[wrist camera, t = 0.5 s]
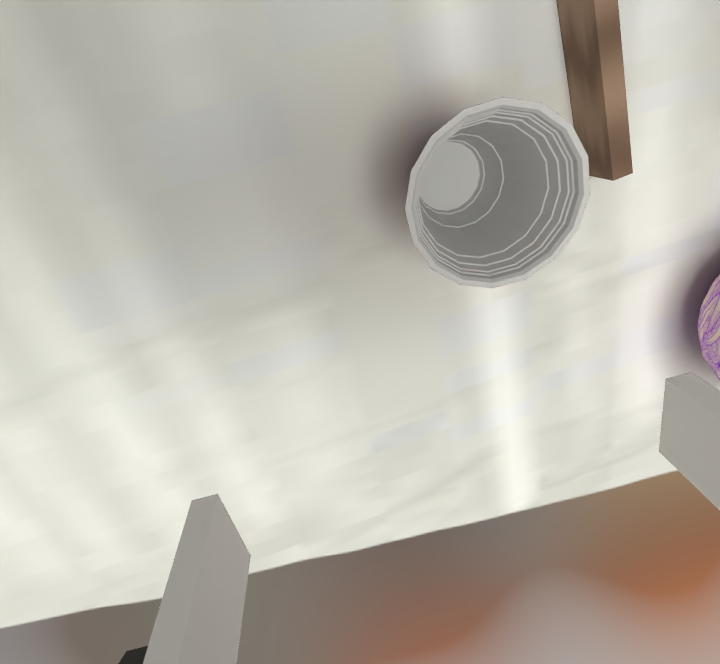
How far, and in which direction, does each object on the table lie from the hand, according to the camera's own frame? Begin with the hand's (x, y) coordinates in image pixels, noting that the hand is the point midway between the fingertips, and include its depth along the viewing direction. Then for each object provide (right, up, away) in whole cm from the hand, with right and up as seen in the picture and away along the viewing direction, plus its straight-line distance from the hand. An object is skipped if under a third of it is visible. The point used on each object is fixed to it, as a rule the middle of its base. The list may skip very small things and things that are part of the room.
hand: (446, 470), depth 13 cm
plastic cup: (+4, +17, +24) cm, 29 cm away
